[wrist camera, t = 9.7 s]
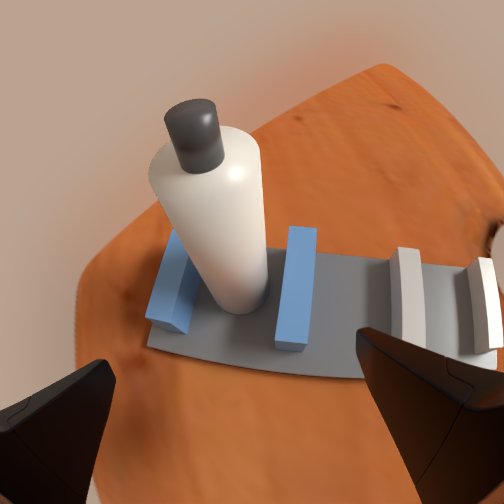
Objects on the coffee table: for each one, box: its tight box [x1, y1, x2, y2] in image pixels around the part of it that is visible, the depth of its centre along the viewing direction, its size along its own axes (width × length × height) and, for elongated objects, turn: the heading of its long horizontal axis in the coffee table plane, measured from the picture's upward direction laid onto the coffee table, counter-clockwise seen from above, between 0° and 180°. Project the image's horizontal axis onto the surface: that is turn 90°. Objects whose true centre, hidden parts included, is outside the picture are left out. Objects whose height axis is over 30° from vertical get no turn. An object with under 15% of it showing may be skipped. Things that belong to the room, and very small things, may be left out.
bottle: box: [148, 99, 269, 315], centre depth 13 cm, size 4×4×14 cm
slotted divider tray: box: [145, 226, 503, 379], centre depth 17 cm, size 9×28×4 cm, turn 80°
